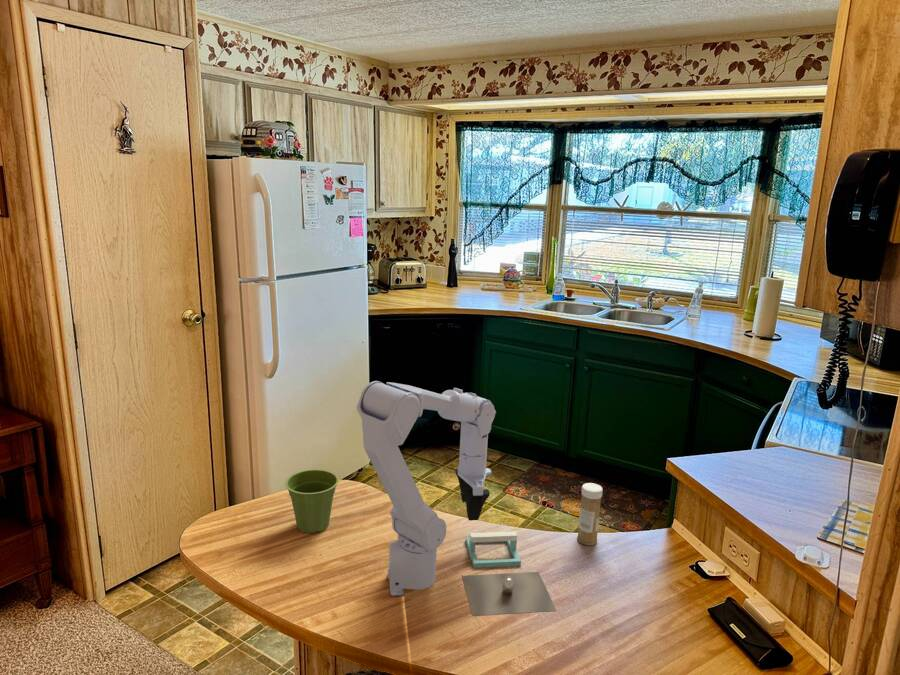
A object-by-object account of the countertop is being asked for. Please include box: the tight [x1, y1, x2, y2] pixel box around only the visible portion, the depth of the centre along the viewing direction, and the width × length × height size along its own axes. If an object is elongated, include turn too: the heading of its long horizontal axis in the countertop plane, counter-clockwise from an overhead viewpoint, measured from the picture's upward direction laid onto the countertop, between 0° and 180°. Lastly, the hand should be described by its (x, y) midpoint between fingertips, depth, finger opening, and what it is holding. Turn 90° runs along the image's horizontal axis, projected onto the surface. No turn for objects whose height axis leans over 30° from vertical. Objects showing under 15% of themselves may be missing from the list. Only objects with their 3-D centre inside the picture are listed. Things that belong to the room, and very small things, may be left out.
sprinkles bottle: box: [576, 482, 604, 546], centre depth 139 cm, size 5×5×13 cm
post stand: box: [461, 571, 557, 617], centre depth 119 cm, size 16×12×4 cm
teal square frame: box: [465, 530, 522, 569], centre depth 132 cm, size 10×10×5 cm
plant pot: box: [284, 468, 340, 534], centre depth 140 cm, size 12×12×11 cm
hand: (469, 510), depth 132 cm, fingers open, 7 cm apart
